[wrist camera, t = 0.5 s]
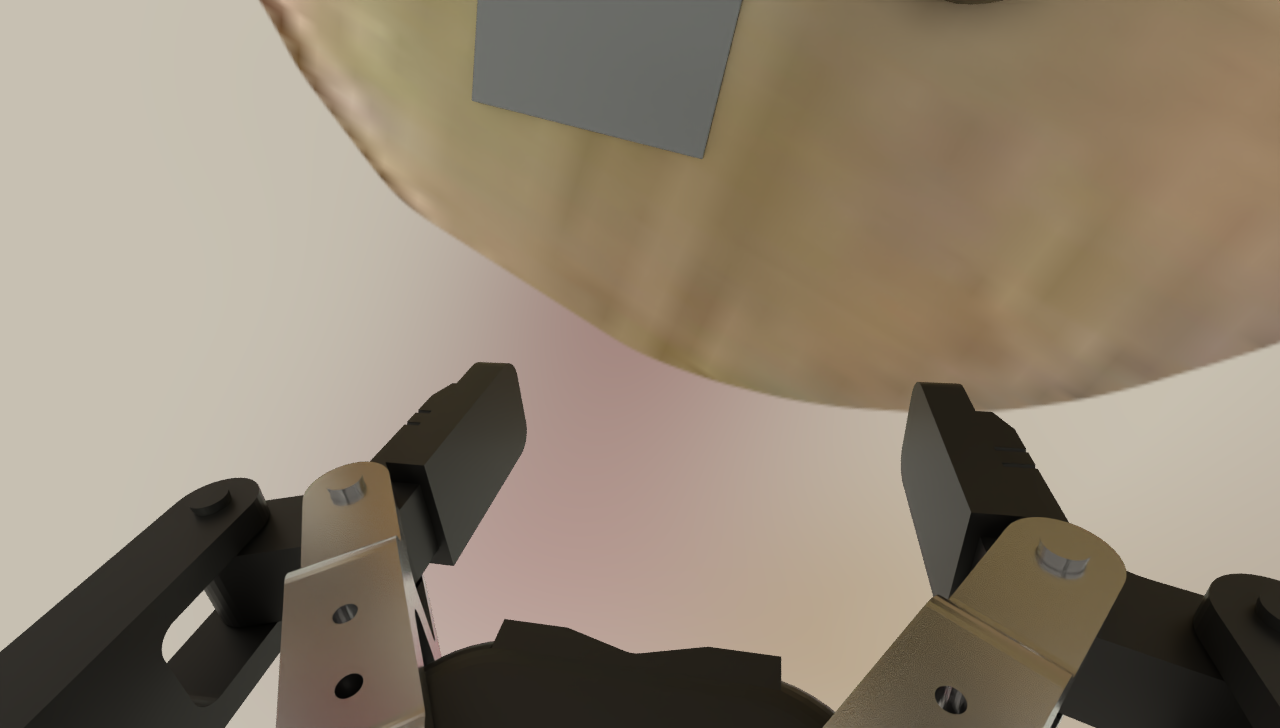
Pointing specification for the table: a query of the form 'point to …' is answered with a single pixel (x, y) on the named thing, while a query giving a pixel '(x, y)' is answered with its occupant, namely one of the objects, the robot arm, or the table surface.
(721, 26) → the mat
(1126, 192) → the table surface
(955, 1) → the mug
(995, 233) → the table surface
